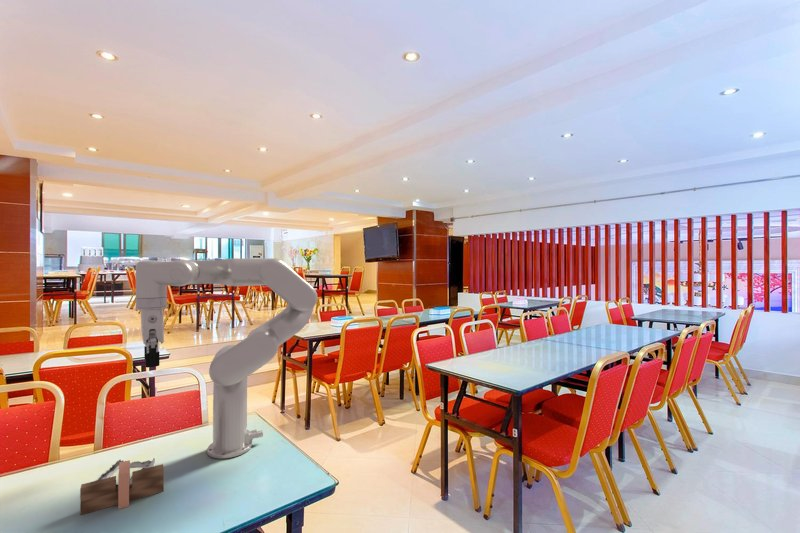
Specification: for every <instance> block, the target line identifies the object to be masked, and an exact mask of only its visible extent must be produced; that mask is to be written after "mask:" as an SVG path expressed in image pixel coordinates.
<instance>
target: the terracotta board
mask: <svg viewBox="0 0 800 533" xmlns="http://www.w3.org/2000/svg"><path fill="white" fill-rule="evenodd" d="M123 461H124V462H120V465H119V469H118V476H117V479H118V482H117V484H118V504H117V505H118V506H117V508H118V509H119V510H120V509H124V508H126V507H129V506H130V501H129V485H130V478H131V475H130V474H131V467H130V463H131V461H130V460H123Z"/></svg>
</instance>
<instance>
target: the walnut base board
mask: <svg viewBox="0 0 800 533" xmlns="http://www.w3.org/2000/svg"><path fill="white" fill-rule="evenodd" d="M144 468H145V469H142V468H141V469H138V470H133V471H132V473H131V474H132V475H131V477H132V484H130V485H129V502H131V501H134V500H139V499H141V498H145V497H149V496H152V495H155V494H159V493H162V492H164V480H165V479H164V474H165V472H164V468H165V467H164V463H162V464H158V465H154V466H153V467H149V468H146V467H144ZM96 480H97V479H96ZM96 480H93V481H90V482H85V483H82V484H81V486H80V491H79V492H80V494H79V496H80V497H79V498H80V503H79V504H80V510H79V512H80V513H79V514H80V516H82V515H84V514H90V513H93V512H96V511H99V510H103V509H107V508H110V507H113V506H117V505H118V488H116V484H117V475H112V476H111V477H109V478H105V479H101V480H97V481H96Z"/></svg>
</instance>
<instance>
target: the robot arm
mask: <svg viewBox="0 0 800 533" xmlns="http://www.w3.org/2000/svg"><path fill="white" fill-rule="evenodd" d="M213 284H215V285H223V286H224V285H225V286H228V287H247V286H249V287H250V286H251V287H252V286H259V287H260V286H261V287H262V286H267V287H268V288H269V289H270V290H271V291H273V292H274V293H275V294H276V295H277V296H278V297H280V298H281V299H282V300H283V301H284V302H286V303H287V306H286V307H285V308H284V309H283V310H282V311H281V312H279V313H277V314H276V315H275V316H274V317H272V318H271V319H269V320H267V321H266V322H264V323H263V324H261V325H259V326H257V327H255V328H254V329H252V330H251V331H250V332H248V335H247V336H246V338H244V339H243V340H240V342H238V343H237V344H229V345H226V346H223V347H221V348H220V349H219V350H218V351H217V352H216V354H214V356H213V359H212V360H211V362H210V365H209V367H208V368H209V369H208V375H209V377H210V379H211V381H212V383H213V384H212V385H213V386H212V387H213V390H212V392H213V393H212V394H213V395H212V397H213V399H212V442H211V443H210V444H209V445H208V446H207V449H206V451H207V452H206V453H207V455H208V457H210V458H213V459H219V460H221V459H222V460H223V459H230V458H231V459H232V458H235V457H238V456H241V455H243V454H245V453H246V452H248V451H249V450H250V449H251V448H252V446H253V440H254V439H258V438H263V437H264V432H263V430H257V429H252V430H248V377H249V376H251V375H252V374H254V373H255V372H256V371H258V370H260V369H261V368H262V367H264V366H265V365H266V364H268V363H269V362H270V361H272V360H273V358H275V356H276V355H277V353H278V350H279V347H281V345H283V344H284V343H286V342H287V341H288V340H290V339H291V338H292V337H293V336H295V335H297V334H298V333H299V332H300V331H302V330H303V328H305V327H306V326H307V324H308V323H309V321H310V319H311V317H312V315H313V312H314V308H315V306H316V304H317V302H318V293H317V291H316V289H315V287H313V286H312V285H311V284H310V283H309V282H307V280H305V279H304V278H303V277H301V275H299V274H298V273H297V272H296V271H295V270H294V269H293V268H292V267H290V266H289V265H288V264H287V262H285V261H284V260H282V259H280V258H271V257H270V258H225V259H218V260H217V259H215V260H209V259H207V260H204V259H203V260H201V259H200V260H195V259H194V260H193V259H191V260H186V259H183V260H182V259H181V260H180V259H179V260H171V261H169V260H168V261H163V260H142V261H141V260H139V261H138V262H137V263H136V265H135V310H136V311H140V327H141V328H140V330H141V337H142V342H143V345H144V351H143V352H144V356H143V358H144V360H145V368H155V367H159V366H160V349H159V343H160V344H164V343H165V336H164V335H165V333H164V332H165V331H164V329H165V328H164V324H165V323H164V322H165V321H164V311H163V310H164V309H165V310H166V309H167V308H168V286H173V287H184V286H187V285H213Z"/></svg>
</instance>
